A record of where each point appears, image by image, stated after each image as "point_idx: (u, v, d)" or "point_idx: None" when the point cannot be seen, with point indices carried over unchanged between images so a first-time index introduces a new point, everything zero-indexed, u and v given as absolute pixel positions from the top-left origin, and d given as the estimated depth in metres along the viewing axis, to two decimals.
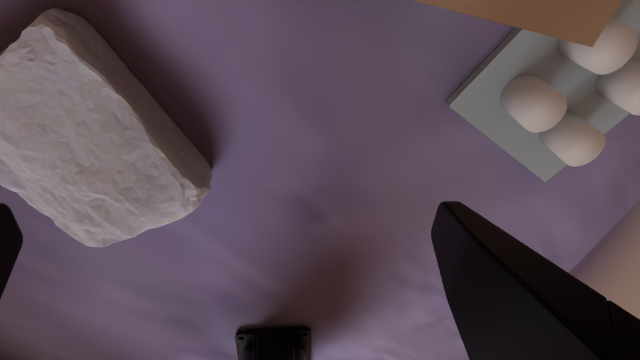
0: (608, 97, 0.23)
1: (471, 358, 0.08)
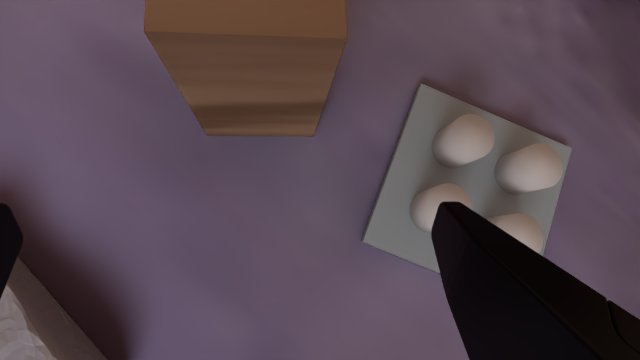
0: (514, 187, 0.22)
1: (471, 358, 0.08)
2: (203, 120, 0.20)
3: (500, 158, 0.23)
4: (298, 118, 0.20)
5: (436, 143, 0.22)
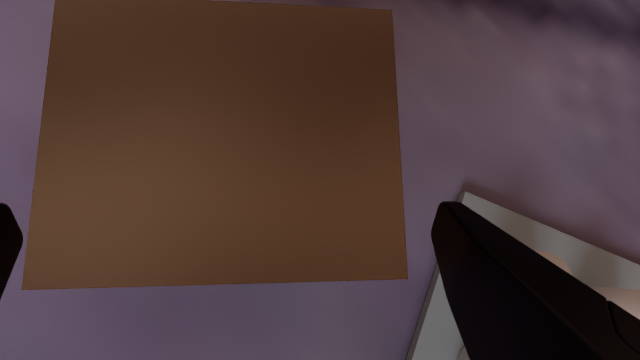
0: None
1: (471, 358, 0.08)
2: None
3: None
4: None
5: None
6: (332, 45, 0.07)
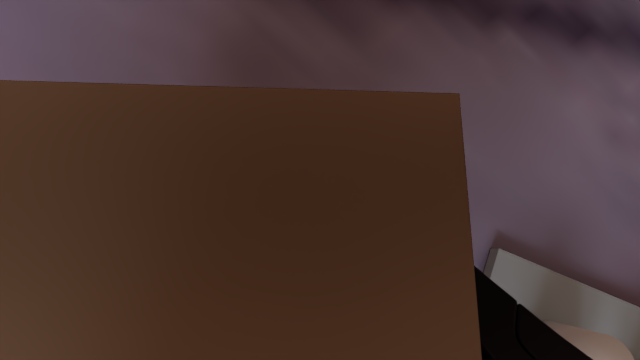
0: None
1: None
2: None
3: None
4: None
5: None
6: (368, 156, 0.05)
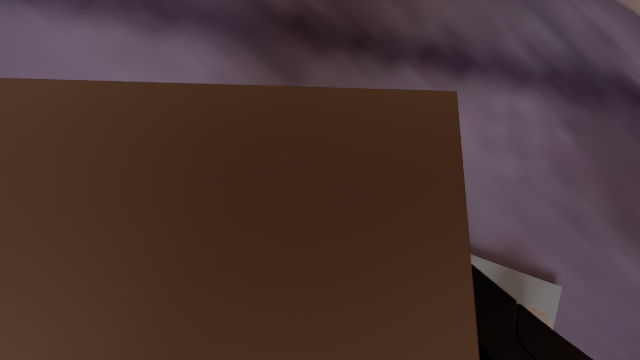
0: None
1: None
2: None
3: None
4: None
5: None
6: (366, 153, 0.05)
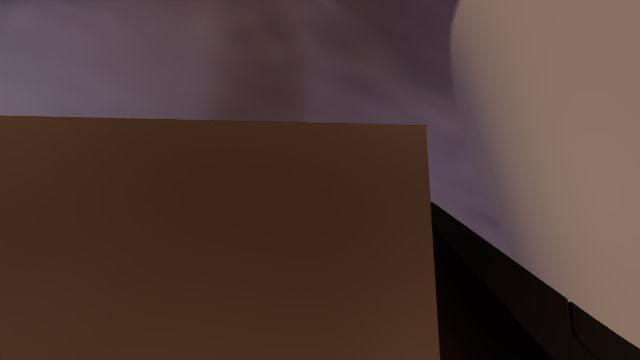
0: None
1: None
2: None
3: None
4: None
5: None
6: (349, 177, 0.06)
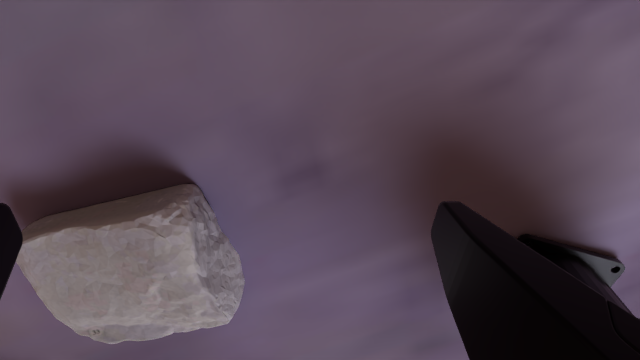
0: None
1: (471, 358, 0.08)
2: None
3: None
4: None
5: None
6: None
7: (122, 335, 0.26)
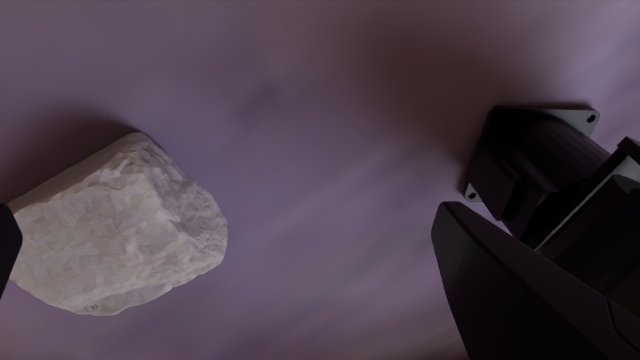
0: None
1: (471, 358, 0.08)
2: None
3: None
4: None
5: None
6: None
7: (121, 303, 0.25)
